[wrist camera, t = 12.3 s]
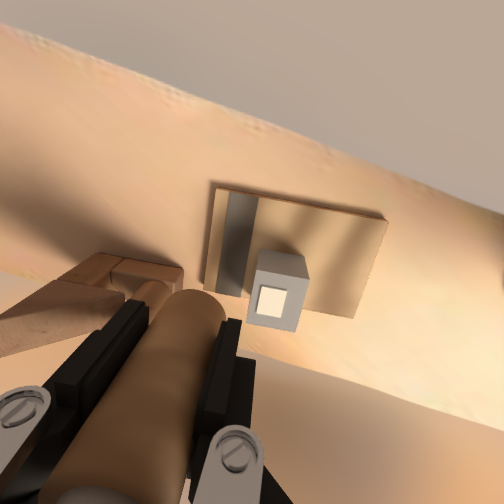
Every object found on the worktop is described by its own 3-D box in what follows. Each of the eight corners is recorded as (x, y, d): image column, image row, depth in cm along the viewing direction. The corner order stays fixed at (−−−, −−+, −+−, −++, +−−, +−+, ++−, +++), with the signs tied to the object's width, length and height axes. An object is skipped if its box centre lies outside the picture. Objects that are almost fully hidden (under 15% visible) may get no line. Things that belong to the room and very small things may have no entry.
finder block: (304, 256, 32) (310, 280, 26) (292, 303, 34) (295, 333, 29) (259, 248, 32) (256, 270, 27) (250, 295, 34) (245, 324, 29)
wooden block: (96, 251, 35) (-71, 358, 18) (185, 267, 35) (100, 390, 18) (97, 278, 36) (-56, 400, 19) (182, 294, 36) (102, 431, 19)
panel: (385, 219, 31) (389, 222, 30) (351, 314, 35) (353, 319, 34) (217, 187, 31) (215, 189, 30) (205, 285, 35) (202, 290, 34)
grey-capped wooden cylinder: (230, 296, 12) (126, 672, 4) (221, 349, 13) (124, 734, 5) (163, 283, 12) (-97, 627, 4) (160, 337, 13) (-48, 701, 5)
